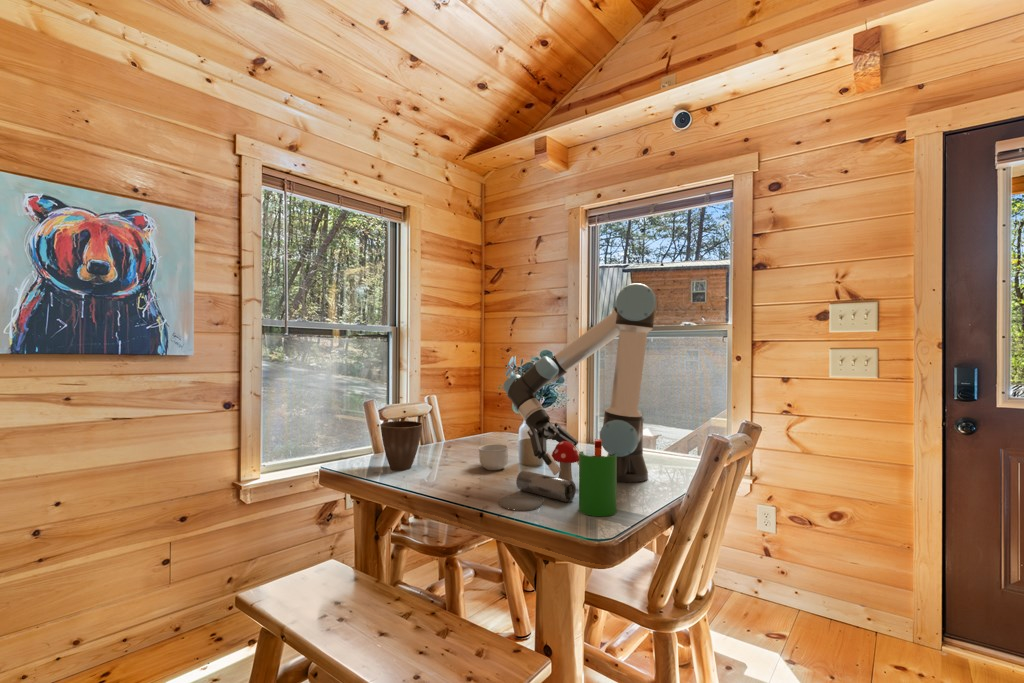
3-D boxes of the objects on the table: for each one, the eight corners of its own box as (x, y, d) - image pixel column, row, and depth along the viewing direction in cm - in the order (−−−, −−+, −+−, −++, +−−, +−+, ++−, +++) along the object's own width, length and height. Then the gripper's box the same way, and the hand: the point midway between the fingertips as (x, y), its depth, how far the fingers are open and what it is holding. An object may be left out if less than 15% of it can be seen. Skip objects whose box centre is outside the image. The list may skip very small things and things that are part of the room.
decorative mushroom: (546, 485, 167) (546, 439, 167) (571, 483, 169) (571, 437, 169) (559, 494, 157) (559, 444, 157) (584, 492, 160) (585, 443, 160)
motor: (612, 506, 147) (613, 435, 147) (620, 516, 138) (620, 441, 138) (576, 506, 146) (577, 435, 146) (582, 517, 137) (582, 441, 137)
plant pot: (425, 463, 196) (425, 420, 196) (418, 473, 181) (418, 427, 181) (385, 463, 196) (385, 420, 196) (375, 473, 181) (375, 427, 181)
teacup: (510, 471, 185) (510, 449, 185) (480, 472, 183) (480, 449, 183) (504, 462, 198) (504, 441, 198) (476, 463, 197) (476, 442, 197)
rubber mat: (519, 495, 156) (519, 492, 156) (550, 503, 148) (550, 501, 148) (490, 504, 147) (490, 501, 147) (522, 513, 139) (522, 510, 139)
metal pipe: (528, 487, 164) (528, 468, 164) (576, 500, 152) (576, 479, 152) (515, 491, 160) (515, 472, 160) (563, 504, 147) (564, 483, 147)
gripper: (551, 418, 183) (586, 468, 173) (502, 426, 165) (538, 483, 154) (563, 404, 179) (600, 455, 169) (515, 411, 161) (552, 468, 151)
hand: (571, 468), depth 162 cm, fingers open, 13 cm apart
